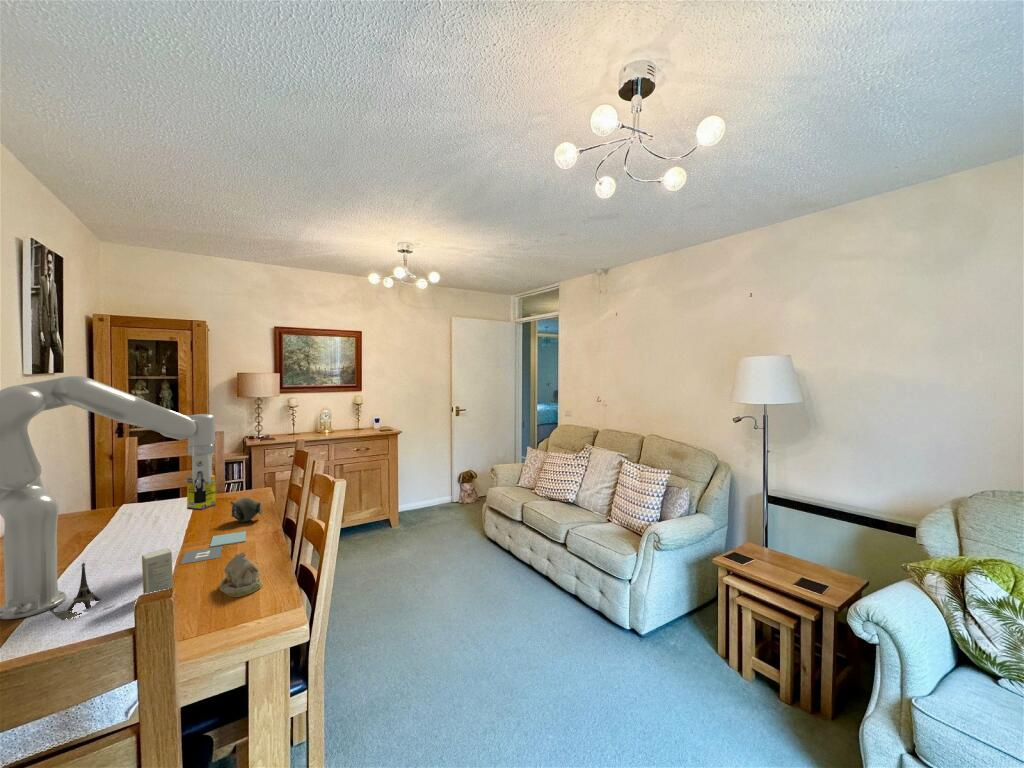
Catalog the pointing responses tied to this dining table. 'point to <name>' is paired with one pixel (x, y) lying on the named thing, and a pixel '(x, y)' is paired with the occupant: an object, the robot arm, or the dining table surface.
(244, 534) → the rubber mat
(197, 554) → the card
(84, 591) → the eiffel tower figurine
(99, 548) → the dining table surface
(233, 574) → the ceramic model
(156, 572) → the skincare box
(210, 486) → the supplement box
